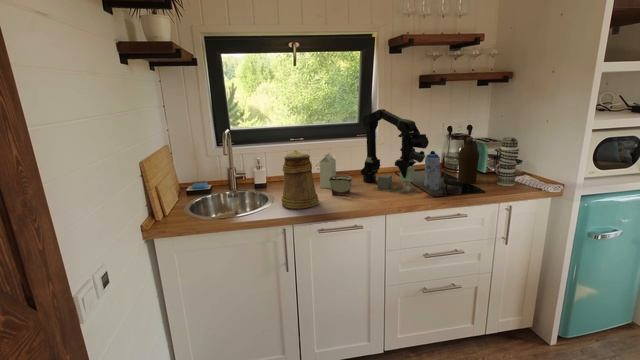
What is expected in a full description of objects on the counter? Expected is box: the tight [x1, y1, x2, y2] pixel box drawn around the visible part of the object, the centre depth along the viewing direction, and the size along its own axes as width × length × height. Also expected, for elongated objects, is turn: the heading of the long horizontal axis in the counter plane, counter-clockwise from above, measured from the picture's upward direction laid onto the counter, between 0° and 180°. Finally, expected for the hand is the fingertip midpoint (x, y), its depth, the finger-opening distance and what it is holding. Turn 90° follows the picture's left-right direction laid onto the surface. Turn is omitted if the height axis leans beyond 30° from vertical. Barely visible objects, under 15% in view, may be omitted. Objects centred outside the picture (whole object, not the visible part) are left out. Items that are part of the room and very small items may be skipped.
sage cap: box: [399, 165, 415, 182], centre depth 176 cm, size 6×6×7 cm
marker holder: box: [371, 181, 421, 196], centre depth 182 cm, size 22×12×7 cm, turn 56°
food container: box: [329, 174, 353, 198], centre depth 181 cm, size 12×6×10 cm, turn 71°
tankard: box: [281, 149, 320, 210], centre depth 170 cm, size 18×24×25 cm
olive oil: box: [457, 136, 480, 185], centre depth 193 cm, size 11×11×25 cm
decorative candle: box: [496, 136, 520, 187], centre depth 185 cm, size 9×9×25 cm
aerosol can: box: [423, 150, 441, 191], centre depth 185 cm, size 8×8×20 cm
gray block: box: [377, 174, 393, 190], centre depth 185 cm, size 6×6×7 cm
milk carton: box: [318, 152, 337, 189], centre depth 196 cm, size 7×7×19 cm
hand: (406, 176), depth 177 cm, fingers closed on sage cap, 6 cm apart
